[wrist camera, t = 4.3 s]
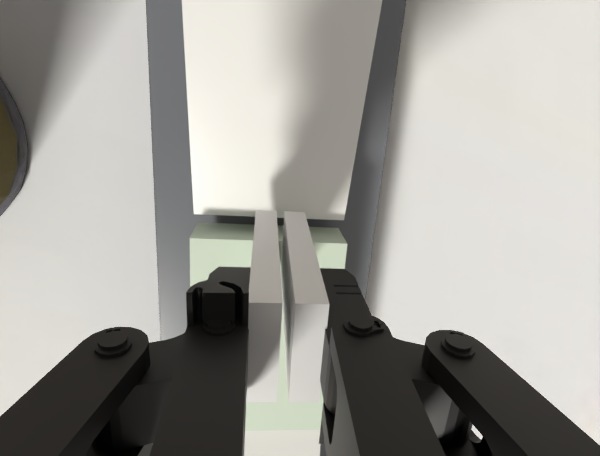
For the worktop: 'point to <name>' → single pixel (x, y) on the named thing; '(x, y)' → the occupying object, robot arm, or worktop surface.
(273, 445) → the block
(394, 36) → the rocker switch panel
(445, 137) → the worktop surface
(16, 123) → the canister
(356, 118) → the block
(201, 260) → the rocker mid
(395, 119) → the worktop surface
